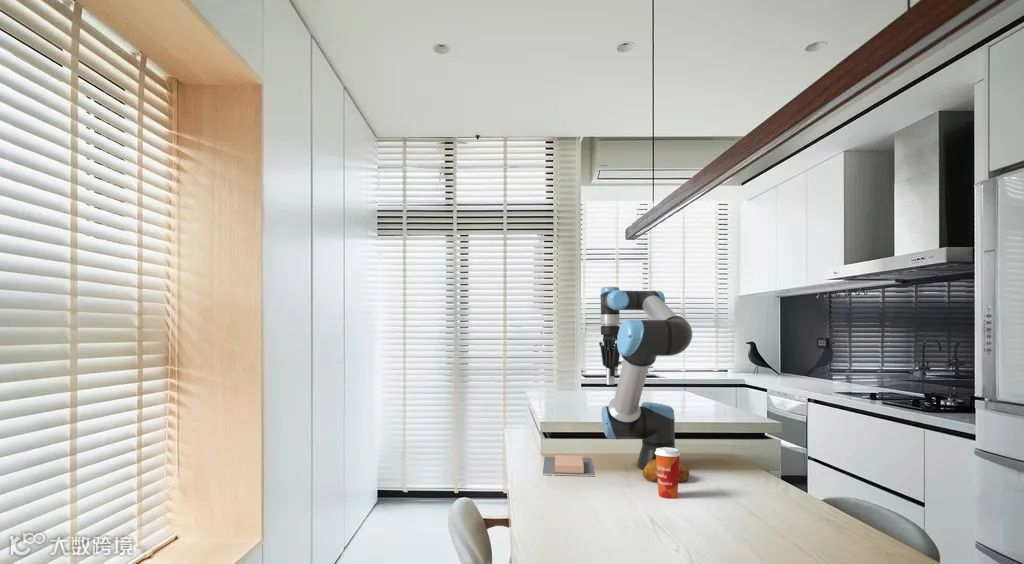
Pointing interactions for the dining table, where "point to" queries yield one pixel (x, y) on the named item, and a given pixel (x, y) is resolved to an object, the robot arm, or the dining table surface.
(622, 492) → the dining table surface
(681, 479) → the croissant
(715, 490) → the dining table surface
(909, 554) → the dining table surface
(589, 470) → the mat
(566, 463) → the tile
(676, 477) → the paper cup
